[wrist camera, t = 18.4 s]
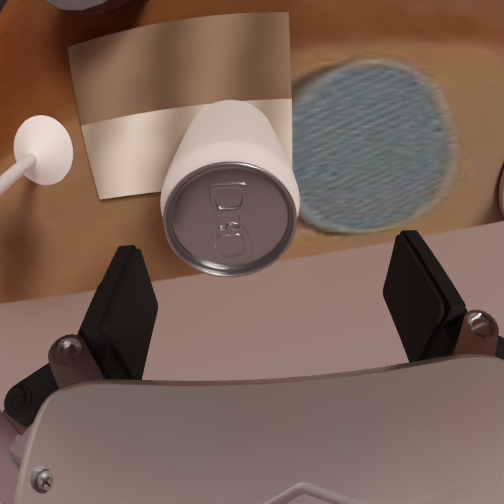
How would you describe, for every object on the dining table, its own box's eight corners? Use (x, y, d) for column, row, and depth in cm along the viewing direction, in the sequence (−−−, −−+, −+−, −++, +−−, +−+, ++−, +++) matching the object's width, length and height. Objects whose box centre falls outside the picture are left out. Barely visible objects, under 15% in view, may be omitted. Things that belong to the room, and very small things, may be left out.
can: (190, 181, 25) (165, 286, 15) (183, 101, 21) (140, 157, 11) (273, 178, 25) (300, 281, 16) (274, 97, 21) (313, 150, 12)
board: (285, 13, 18) (288, 12, 17) (289, 174, 26) (292, 180, 25) (74, 46, 18) (67, 47, 17) (104, 193, 26) (99, 199, 25)
